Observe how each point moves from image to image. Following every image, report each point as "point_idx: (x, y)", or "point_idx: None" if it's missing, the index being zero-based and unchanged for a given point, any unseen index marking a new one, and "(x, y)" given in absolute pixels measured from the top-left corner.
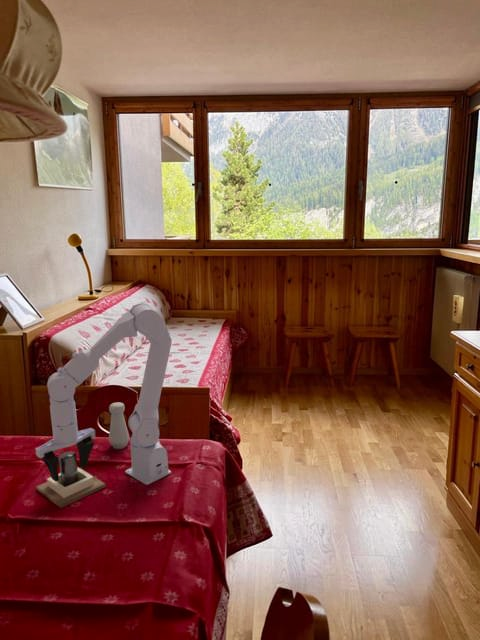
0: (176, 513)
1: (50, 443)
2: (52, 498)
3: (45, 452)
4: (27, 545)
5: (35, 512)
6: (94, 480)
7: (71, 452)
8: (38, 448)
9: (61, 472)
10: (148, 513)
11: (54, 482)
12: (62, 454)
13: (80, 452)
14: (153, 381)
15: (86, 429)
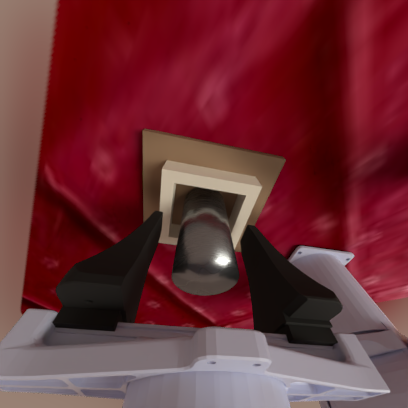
0: (227, 321)
1: (115, 358)
2: (144, 212)
3: (73, 339)
4: (62, 260)
5: (101, 209)
6: (243, 230)
7: (230, 274)
8: (5, 369)
9: (179, 230)
10: (212, 309)
11: (164, 203)
12: (199, 262)
13: (262, 266)
14: None
15: (363, 390)
